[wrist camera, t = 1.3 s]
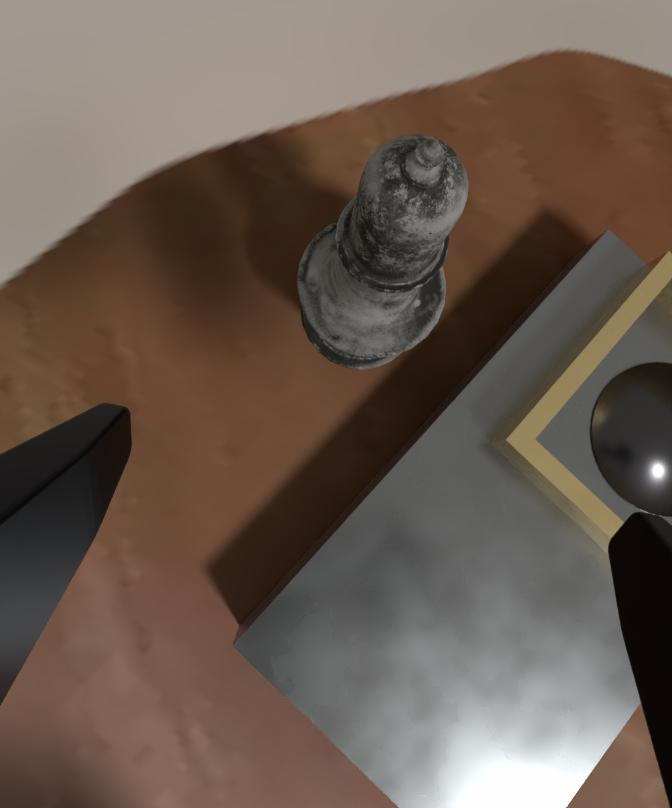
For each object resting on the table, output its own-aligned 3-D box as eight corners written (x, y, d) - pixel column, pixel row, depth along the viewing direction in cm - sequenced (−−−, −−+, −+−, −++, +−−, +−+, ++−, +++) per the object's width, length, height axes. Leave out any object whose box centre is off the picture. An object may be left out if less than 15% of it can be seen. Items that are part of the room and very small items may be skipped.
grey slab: (471, 851, 20) (516, 941, 16) (239, 625, 21) (227, 660, 17) (777, 437, 24) (872, 430, 20) (576, 253, 25) (631, 211, 21)
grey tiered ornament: (271, 289, 23) (253, 88, 11) (380, 231, 24) (471, -11, 12) (338, 399, 22) (393, 314, 11) (446, 336, 23) (608, 193, 12)
